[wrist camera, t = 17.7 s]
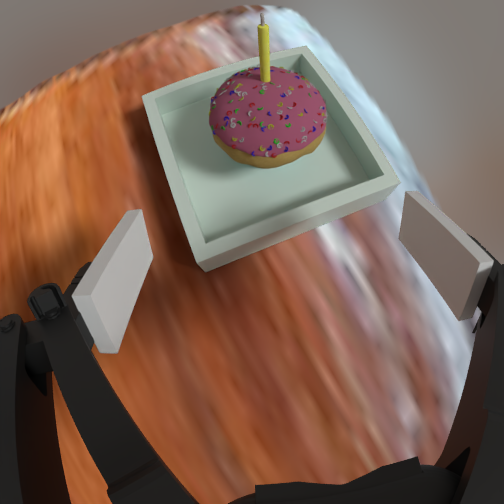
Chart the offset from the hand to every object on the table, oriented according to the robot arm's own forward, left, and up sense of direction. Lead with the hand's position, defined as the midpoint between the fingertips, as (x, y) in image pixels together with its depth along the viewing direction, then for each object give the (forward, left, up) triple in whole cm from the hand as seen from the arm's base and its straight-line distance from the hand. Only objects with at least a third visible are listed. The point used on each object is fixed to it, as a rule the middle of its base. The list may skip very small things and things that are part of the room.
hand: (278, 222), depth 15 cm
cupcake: (-6, +7, -9) cm, 13 cm away
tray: (-7, +7, -9) cm, 14 cm away
